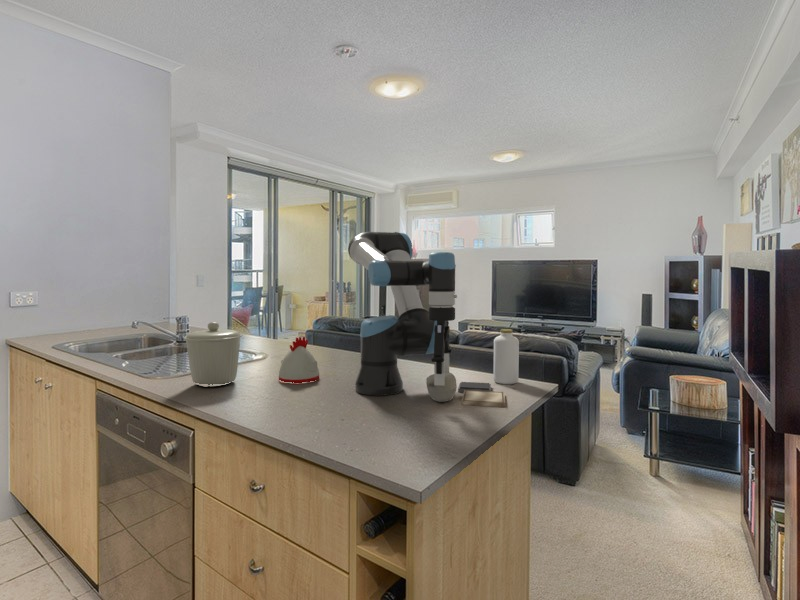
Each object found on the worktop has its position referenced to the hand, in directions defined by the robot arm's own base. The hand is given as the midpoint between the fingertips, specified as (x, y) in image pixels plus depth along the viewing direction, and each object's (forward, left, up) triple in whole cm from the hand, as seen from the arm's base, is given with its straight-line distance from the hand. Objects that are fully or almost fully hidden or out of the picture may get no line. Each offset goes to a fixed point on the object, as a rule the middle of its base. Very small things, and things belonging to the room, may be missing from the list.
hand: (442, 379), depth 130 cm
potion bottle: (+19, +27, -7) cm, 34 cm away
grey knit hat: (-52, +17, -7) cm, 55 cm away
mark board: (+12, +4, -6) cm, 14 cm away
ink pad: (+9, +15, -6) cm, 19 cm away
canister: (-77, +5, -7) cm, 78 cm away
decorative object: (0, 0, -7) cm, 7 cm away
